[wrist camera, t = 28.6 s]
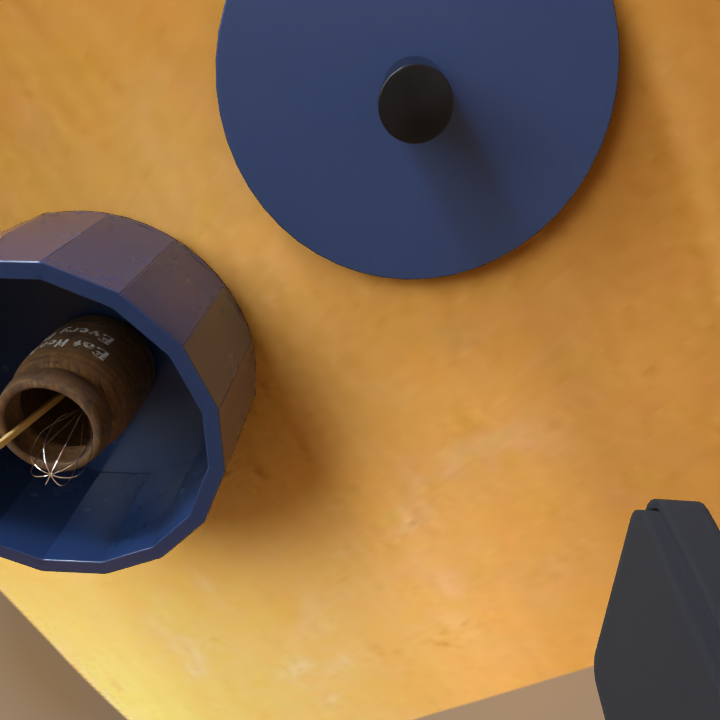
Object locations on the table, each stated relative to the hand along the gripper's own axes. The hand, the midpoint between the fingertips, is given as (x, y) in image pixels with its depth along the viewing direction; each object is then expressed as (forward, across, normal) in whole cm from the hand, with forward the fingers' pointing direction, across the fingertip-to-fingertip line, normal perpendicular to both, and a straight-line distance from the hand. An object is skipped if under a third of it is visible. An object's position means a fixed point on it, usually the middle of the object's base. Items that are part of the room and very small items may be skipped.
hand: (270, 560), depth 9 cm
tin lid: (+26, -2, -3) cm, 26 cm away
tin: (+26, +15, +12) cm, 32 cm away
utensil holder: (+26, +15, +12) cm, 32 cm away
